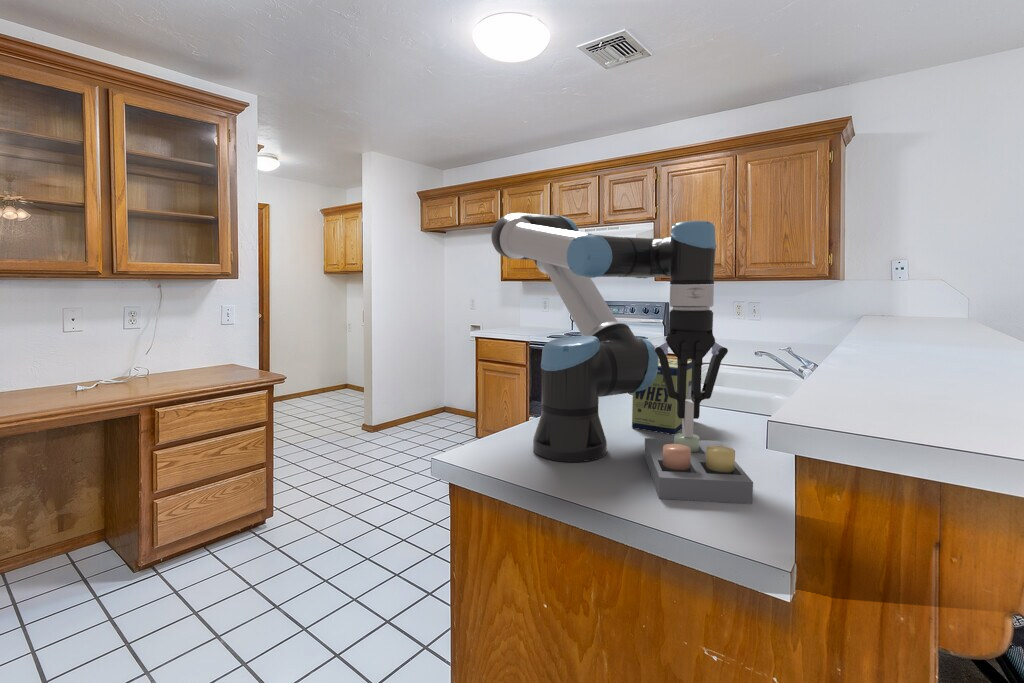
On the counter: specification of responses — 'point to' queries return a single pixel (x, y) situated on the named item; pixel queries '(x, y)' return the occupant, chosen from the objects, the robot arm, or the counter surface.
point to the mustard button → (720, 458)
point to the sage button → (688, 441)
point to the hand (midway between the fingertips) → (687, 435)
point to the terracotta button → (676, 456)
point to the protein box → (660, 403)
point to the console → (696, 477)
